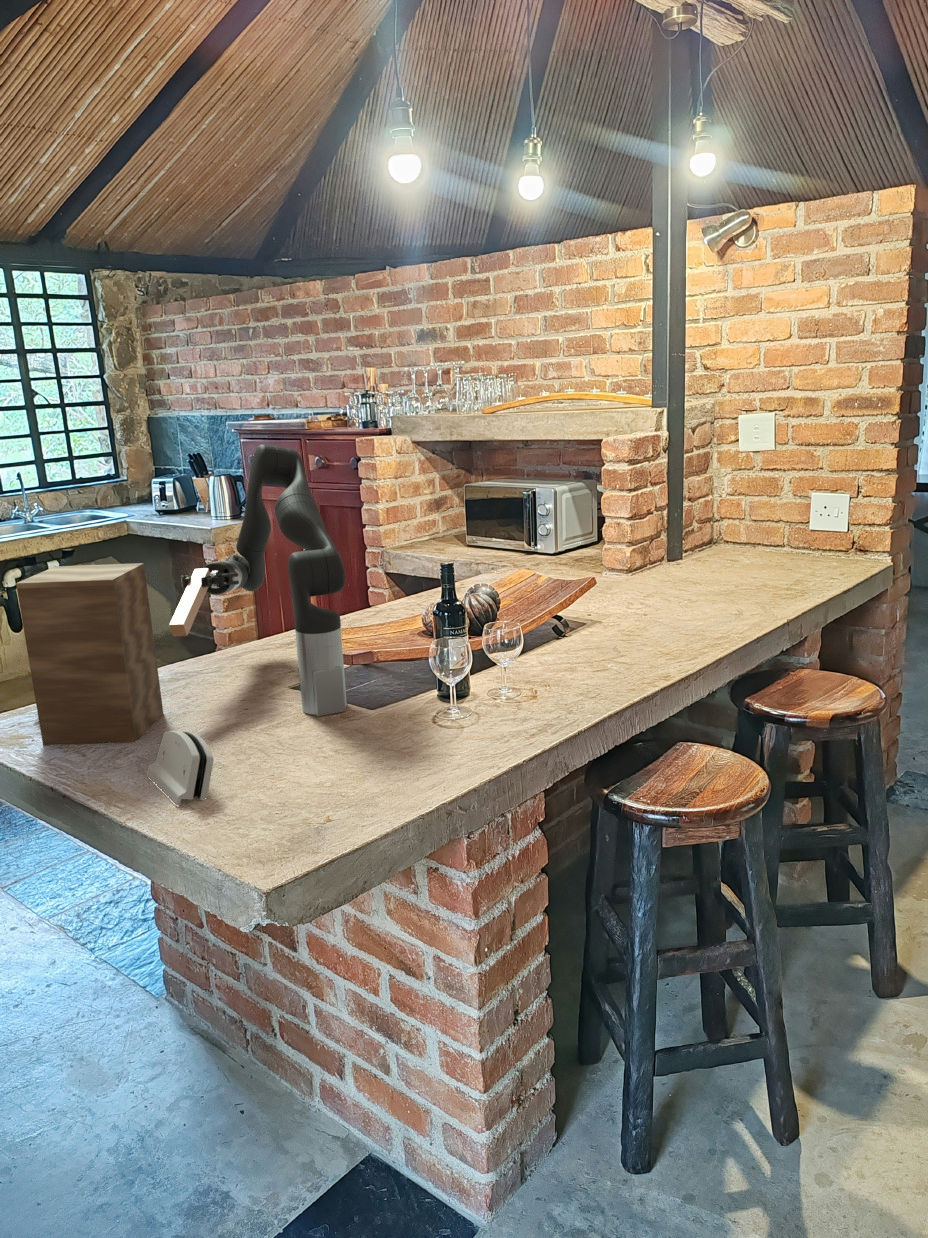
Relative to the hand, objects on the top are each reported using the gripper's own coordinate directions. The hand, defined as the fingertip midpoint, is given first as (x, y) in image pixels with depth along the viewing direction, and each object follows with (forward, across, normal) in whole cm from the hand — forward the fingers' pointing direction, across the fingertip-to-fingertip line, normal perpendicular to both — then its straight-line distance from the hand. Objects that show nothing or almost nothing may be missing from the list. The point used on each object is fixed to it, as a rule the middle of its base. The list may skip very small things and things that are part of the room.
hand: (195, 582), depth 195 cm
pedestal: (+17, -15, +28) cm, 35 cm away
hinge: (+43, +11, +32) cm, 55 cm away
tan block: (+2, 0, +5) cm, 5 cm away
